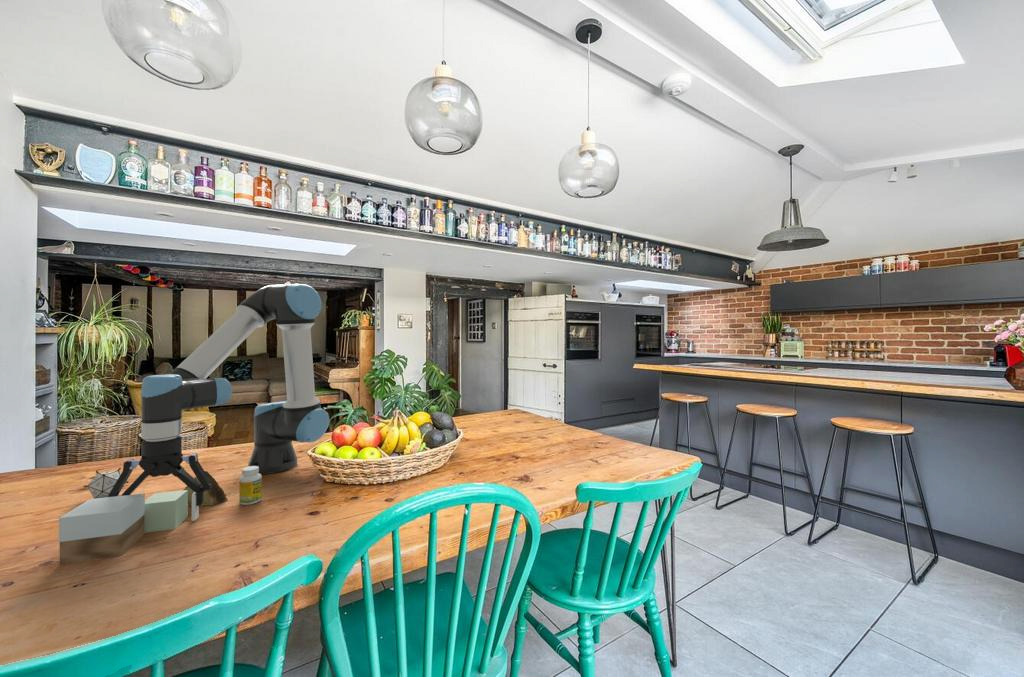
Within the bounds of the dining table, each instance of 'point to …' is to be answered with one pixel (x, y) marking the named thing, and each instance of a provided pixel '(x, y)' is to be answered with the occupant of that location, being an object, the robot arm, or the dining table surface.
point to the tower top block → (101, 517)
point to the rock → (209, 493)
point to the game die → (103, 483)
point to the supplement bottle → (250, 486)
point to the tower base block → (101, 545)
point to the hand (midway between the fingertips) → (161, 523)
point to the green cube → (165, 510)
